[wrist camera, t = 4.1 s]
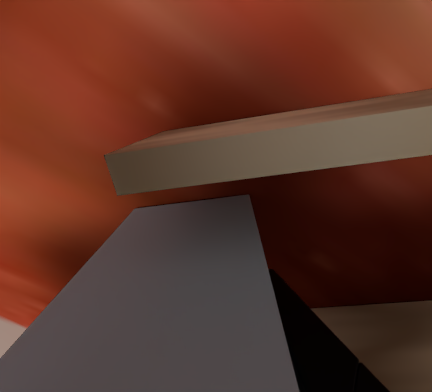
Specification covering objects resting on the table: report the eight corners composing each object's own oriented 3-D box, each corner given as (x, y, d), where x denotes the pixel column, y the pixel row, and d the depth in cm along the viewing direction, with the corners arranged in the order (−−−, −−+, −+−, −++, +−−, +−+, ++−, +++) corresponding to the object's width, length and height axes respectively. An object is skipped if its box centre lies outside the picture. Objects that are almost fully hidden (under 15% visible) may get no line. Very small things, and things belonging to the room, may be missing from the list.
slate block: (249, 194, 8) (323, 489, 2) (258, 287, 10) (317, 617, 4) (134, 208, 9) (-118, 489, 2) (161, 295, 10) (56, 603, 4)
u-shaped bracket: (592, 63, 6) (1082, 6, 3) (493, 309, 10) (651, 431, 6) (163, 131, 8) (104, 155, 4) (208, 327, 11) (198, 435, 8)
